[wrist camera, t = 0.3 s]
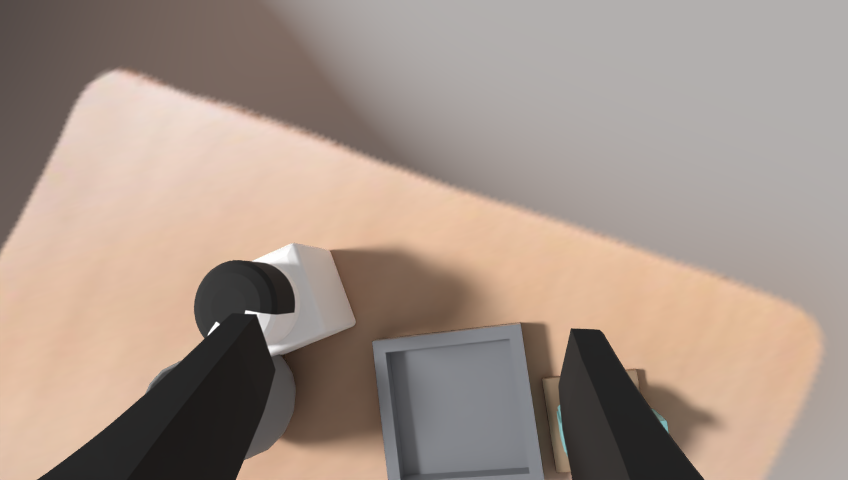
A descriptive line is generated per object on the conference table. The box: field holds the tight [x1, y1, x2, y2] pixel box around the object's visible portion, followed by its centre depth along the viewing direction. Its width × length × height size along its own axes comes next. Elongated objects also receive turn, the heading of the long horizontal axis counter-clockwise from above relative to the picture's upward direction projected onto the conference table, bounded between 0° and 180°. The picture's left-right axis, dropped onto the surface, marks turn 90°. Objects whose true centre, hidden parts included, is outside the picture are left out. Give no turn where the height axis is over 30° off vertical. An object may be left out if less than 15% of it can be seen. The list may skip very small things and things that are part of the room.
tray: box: [372, 322, 544, 480], centre depth 38 cm, size 12×12×2 cm
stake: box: [542, 369, 640, 473], centre depth 34 cm, size 7×7×5 cm
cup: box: [145, 354, 296, 460], centre depth 37 cm, size 10×9×10 cm
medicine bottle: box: [194, 243, 356, 357], centre depth 36 cm, size 7×7×12 cm
